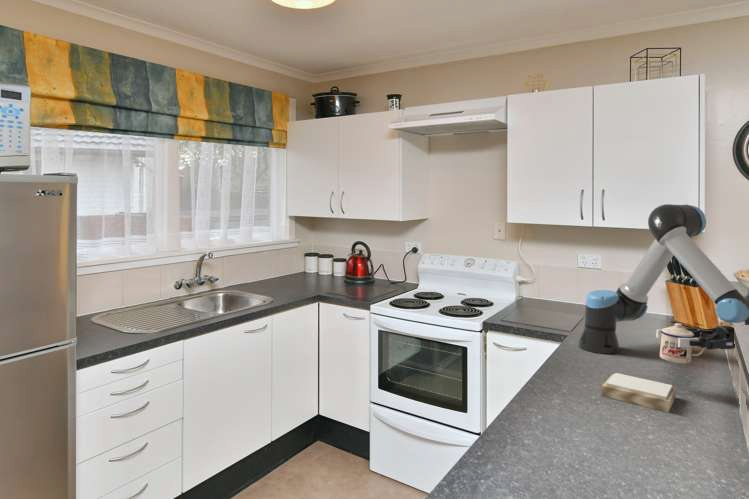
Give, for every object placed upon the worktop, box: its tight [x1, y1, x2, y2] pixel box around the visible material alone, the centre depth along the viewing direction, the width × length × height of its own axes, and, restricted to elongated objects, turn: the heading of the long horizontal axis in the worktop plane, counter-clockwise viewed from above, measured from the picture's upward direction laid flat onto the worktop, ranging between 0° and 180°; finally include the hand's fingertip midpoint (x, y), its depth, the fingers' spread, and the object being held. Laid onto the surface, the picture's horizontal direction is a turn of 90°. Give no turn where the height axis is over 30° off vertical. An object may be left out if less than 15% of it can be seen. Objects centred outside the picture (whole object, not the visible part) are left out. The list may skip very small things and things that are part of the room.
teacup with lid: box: [659, 322, 705, 364], centre depth 157 cm, size 12×9×12 cm
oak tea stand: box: [600, 372, 677, 413], centre depth 152 cm, size 18×14×4 cm
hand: (667, 338), depth 157 cm, fingers closed on teacup with lid, 9 cm apart
